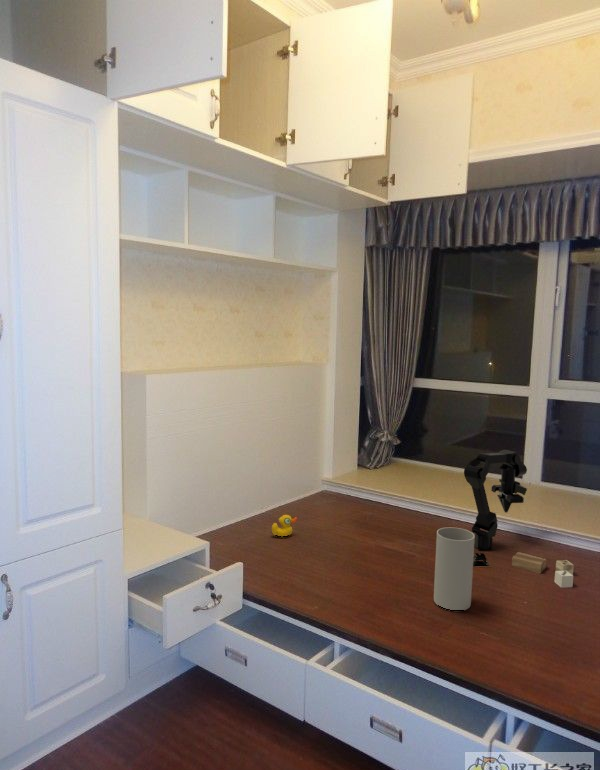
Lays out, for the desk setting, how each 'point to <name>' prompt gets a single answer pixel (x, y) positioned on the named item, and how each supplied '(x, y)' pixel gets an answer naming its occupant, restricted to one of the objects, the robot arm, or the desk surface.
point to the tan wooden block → (528, 562)
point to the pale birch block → (564, 566)
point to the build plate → (480, 557)
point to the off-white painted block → (563, 579)
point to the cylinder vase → (454, 568)
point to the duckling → (283, 526)
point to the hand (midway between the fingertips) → (505, 512)
